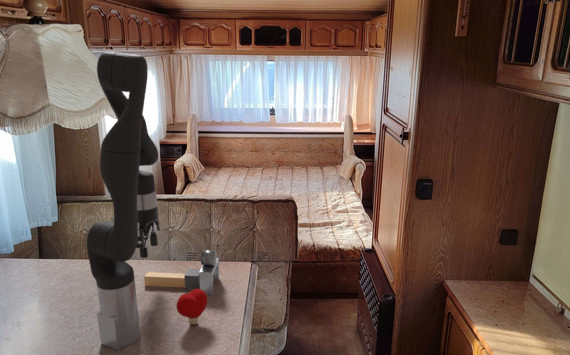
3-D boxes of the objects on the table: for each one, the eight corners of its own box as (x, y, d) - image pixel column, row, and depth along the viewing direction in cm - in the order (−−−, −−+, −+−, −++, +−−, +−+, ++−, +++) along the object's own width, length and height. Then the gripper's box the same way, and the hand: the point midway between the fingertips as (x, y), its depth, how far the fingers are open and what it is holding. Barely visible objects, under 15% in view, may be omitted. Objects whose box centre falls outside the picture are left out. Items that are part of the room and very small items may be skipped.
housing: (200, 294, 136) (198, 257, 133) (208, 278, 146) (206, 243, 142) (212, 294, 136) (211, 258, 132) (219, 278, 146) (218, 244, 142)
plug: (143, 287, 140) (142, 273, 139) (149, 280, 145) (147, 266, 143) (198, 289, 139) (198, 276, 138) (202, 282, 143) (201, 269, 142)
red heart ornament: (200, 312, 127) (198, 282, 124) (214, 322, 122) (212, 291, 120) (172, 325, 121) (170, 294, 118) (186, 336, 116) (183, 304, 113)
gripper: (147, 213, 127) (152, 262, 132) (164, 197, 141) (168, 242, 146) (123, 212, 128) (129, 261, 133) (142, 196, 141) (146, 241, 146)
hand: (149, 251), depth 139 cm, fingers open, 8 cm apart
